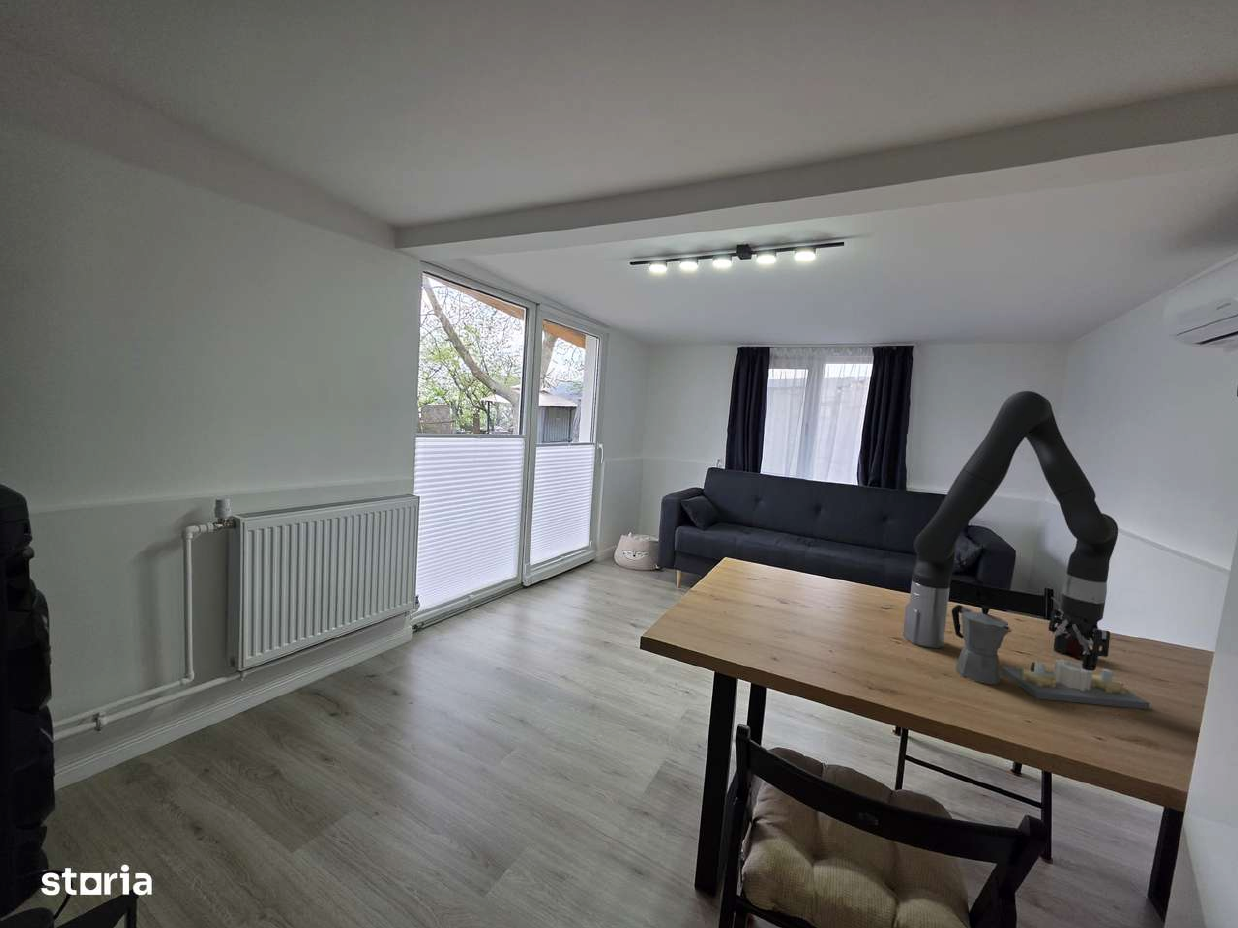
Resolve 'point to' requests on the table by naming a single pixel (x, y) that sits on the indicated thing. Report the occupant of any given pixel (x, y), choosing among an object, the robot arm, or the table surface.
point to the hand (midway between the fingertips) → (1073, 660)
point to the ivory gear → (1072, 675)
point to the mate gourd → (1073, 645)
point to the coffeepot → (979, 644)
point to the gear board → (1047, 688)
